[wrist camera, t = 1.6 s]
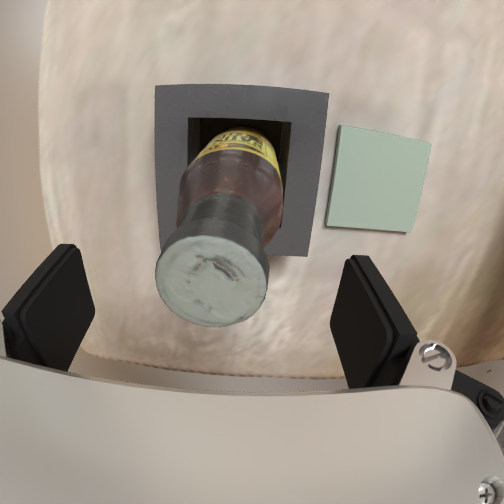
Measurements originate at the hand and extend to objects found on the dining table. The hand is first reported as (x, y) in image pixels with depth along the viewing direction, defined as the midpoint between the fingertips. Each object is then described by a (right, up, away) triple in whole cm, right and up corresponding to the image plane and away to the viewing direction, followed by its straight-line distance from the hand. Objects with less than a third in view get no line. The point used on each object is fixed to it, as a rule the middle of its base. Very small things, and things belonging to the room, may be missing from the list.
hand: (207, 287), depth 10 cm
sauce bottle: (0, +10, +18) cm, 20 cm away
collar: (0, +10, +17) cm, 20 cm away
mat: (+14, +8, +18) cm, 25 cm away
